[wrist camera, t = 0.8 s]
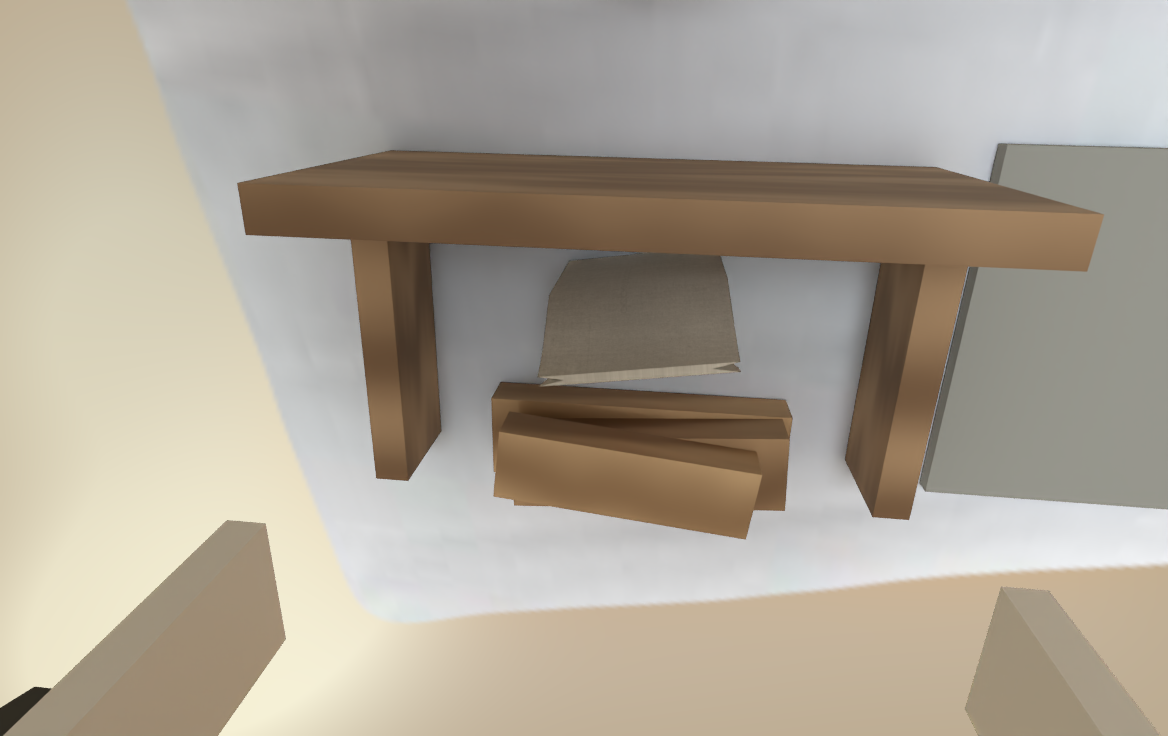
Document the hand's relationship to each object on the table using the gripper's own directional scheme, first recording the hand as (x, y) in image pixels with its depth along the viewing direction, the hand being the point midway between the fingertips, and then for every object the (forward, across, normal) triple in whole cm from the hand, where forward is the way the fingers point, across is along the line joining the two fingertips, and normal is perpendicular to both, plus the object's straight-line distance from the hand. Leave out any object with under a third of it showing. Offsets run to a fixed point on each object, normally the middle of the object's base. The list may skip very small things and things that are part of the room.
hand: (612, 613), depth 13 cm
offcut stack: (+21, 0, -7) cm, 22 cm away
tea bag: (+22, 0, 0) cm, 22 cm away
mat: (+21, +20, -1) cm, 29 cm away
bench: (+21, 0, -1) cm, 21 cm away
